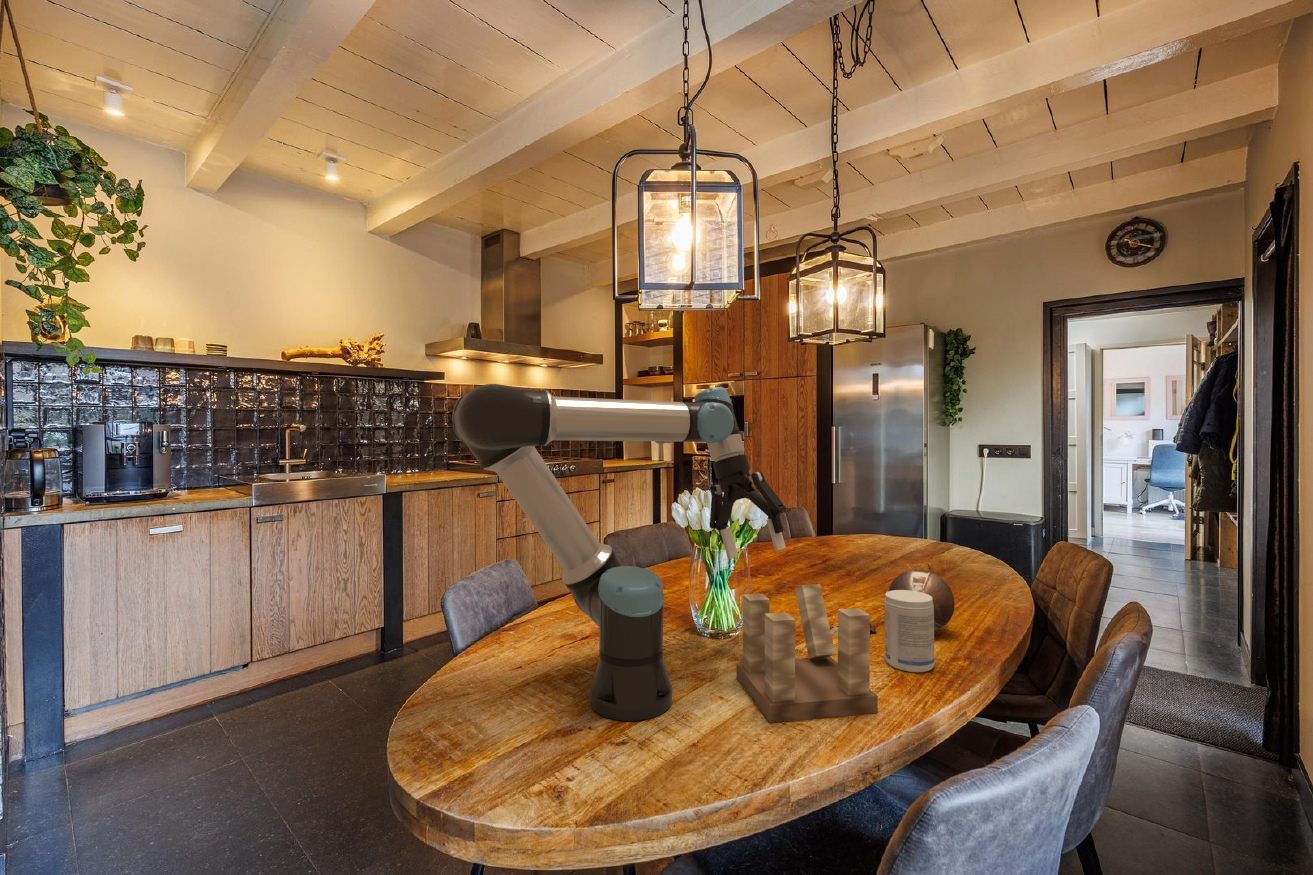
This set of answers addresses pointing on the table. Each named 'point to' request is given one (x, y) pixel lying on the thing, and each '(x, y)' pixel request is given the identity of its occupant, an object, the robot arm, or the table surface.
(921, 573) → the brown metallic ball
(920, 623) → the supplement tub
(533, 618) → the table surface
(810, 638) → the hinged leg
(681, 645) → the table surface
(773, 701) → the stool seat
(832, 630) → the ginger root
